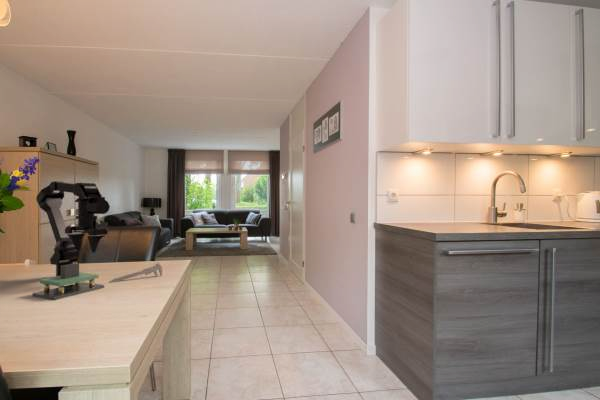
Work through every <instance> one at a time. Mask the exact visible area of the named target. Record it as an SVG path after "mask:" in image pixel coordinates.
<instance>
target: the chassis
mask: <svg viewBox="0 0 600 400" xmlns="http://www.w3.org/2000/svg"><path fill="white" fill-rule="evenodd" d="M50 287H51V285H48V284H43V290H42V291H37V292H32V295H31V296H32V297H35V298H41V299H46V300H53V301H56V300H59V299H64V298H67V297H72V296H77V295H80V294H84V293H88V292H92V291H96V290H100V289H104V288H105V284H99V283H95V279H91V280H88V282H86V281H82V282H78V283H73V284H68V285H64V286H57V287H54V288H50Z"/></svg>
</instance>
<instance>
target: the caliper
mask: <svg viewBox="0 0 600 400" xmlns="http://www.w3.org/2000/svg"><path fill="white" fill-rule="evenodd" d="M157 271H158V272H159V275H160V277H162V276H163V266H162V264H160V262H157V263H154V265H153V266H149V267H146V268H143V269H142V270H139V271H136V272H132V273H131V272H130V273H129V274H124V275H121V276H118V277H114V278H112V280H109V281H108V282H109V283H117V282H121V281H123V280H124V281H125V280H127V279H130V278H135V277H137V276H141V275H145V276H147V275H150V274H152V273H153V274H154V276H155V277H158V272H157Z"/></svg>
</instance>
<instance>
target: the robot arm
mask: <svg viewBox="0 0 600 400" xmlns="http://www.w3.org/2000/svg"><path fill="white" fill-rule="evenodd" d="M65 193H72V194H73V195H74V196H76V197H78V198H76V199H75V200H74V202H75V203H77V205H78V206H77V215H75V220H76V219H77V225H72V226H66V223H65V220H64V218H63V215H62V212H61V207H62V204H63V199H64V197H65ZM36 202H37V204H38V206H39V208H40V209H41V210H43V212H45V213H46V215H47V218H48V222H49V224H50V227H51V230H52V234H53V236H54V239H55V241H56V243H55V245H54V248H53V251H54V253H53V255H52V256H51V257H50V259H49V262H50V264H51V265H54V266H55V275H54V277H57V276H61V265H67V264H74V263H77V262H78V261H79V257H80V253H81V249H82V240H83V237H84V236H85V235H86V234H87V239H88V243H89V247H90V251H91V253H96V251H97V248H98V246H99V243H100V241H101V240H102V239H103V238H104V237H106V235H109V229H108V225H109V223H108V222H107V221H104V220H101V219H98V216H97V215H104V214H107V213H109V211H110V209H111V207H110V203H109V202H108V200H106V197H105V196H103V195H102V194H101V192H100V190H99V188H98V186H97V184H96V183H94V182H75V183H72V182H64V181H58V180H57V181H55V180H53V181H51V182H50V184H49V185H47V186H46V187H45V186H44V188H42V189H40V191H39V192H38V194H37V195H36Z"/></svg>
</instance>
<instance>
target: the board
mask: <svg viewBox="0 0 600 400" xmlns="http://www.w3.org/2000/svg"><path fill="white" fill-rule="evenodd" d="M91 279H94V280H95V279H99V274H97V273H95V274H94V273H86V272H80V263H77V262H73V264H67V265H61V276H57V277H55V276H52V277H47V278H42V279H39V284H42V285H44V284H48V285H50V286H53V287H55V286H56V287H59V286H67V285H72V284H75V283H78V282H80V283H81V282H86V281H89V280H91Z"/></svg>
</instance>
